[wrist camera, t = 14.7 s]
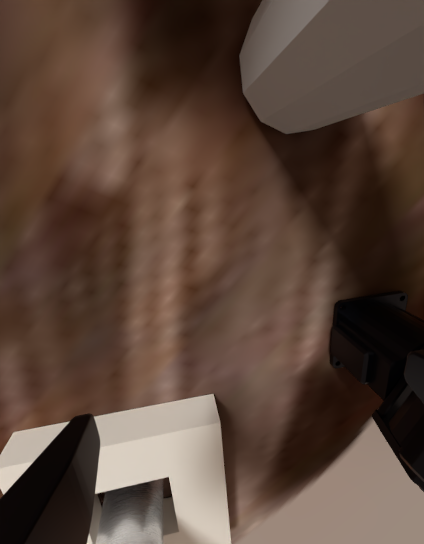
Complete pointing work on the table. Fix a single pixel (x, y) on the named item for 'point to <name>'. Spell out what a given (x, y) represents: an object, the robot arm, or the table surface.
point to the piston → (133, 515)
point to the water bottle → (331, 59)
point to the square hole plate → (150, 464)
